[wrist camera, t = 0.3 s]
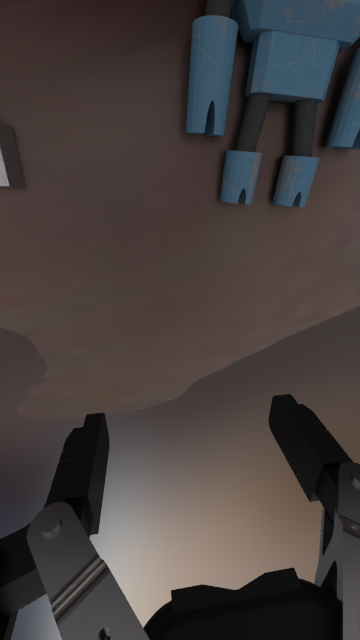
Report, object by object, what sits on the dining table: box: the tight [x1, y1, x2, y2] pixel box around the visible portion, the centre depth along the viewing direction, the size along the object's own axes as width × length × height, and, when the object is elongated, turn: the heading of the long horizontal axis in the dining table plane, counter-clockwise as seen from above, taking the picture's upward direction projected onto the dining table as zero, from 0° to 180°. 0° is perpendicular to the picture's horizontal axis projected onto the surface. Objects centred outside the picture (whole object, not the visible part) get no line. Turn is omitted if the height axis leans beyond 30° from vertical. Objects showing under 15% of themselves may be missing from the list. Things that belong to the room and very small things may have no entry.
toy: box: [186, 0, 360, 207], centre depth 27 cm, size 22×9×30 cm
